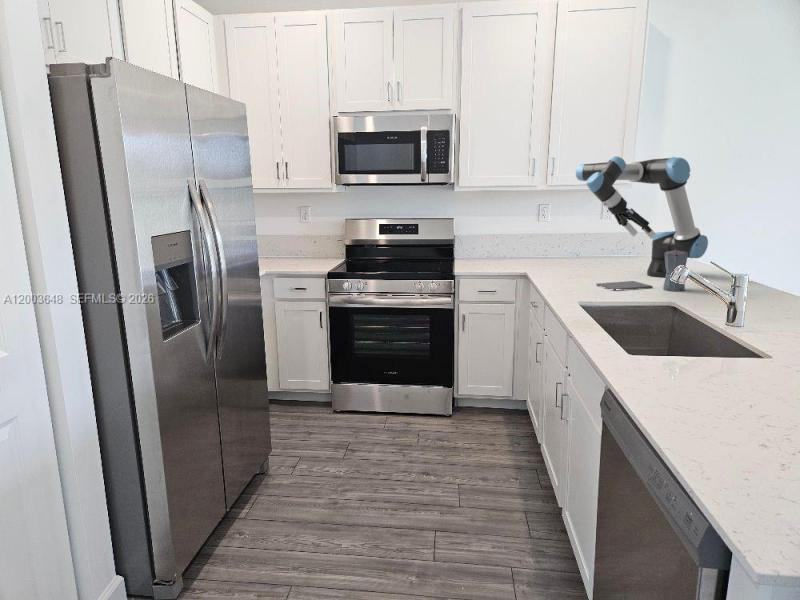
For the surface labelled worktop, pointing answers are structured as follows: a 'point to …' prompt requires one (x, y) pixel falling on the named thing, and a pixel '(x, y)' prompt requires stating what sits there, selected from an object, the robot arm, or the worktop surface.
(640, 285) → the charcoal mat
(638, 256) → the worktop surface
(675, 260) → the moka pot
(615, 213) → the robot arm
